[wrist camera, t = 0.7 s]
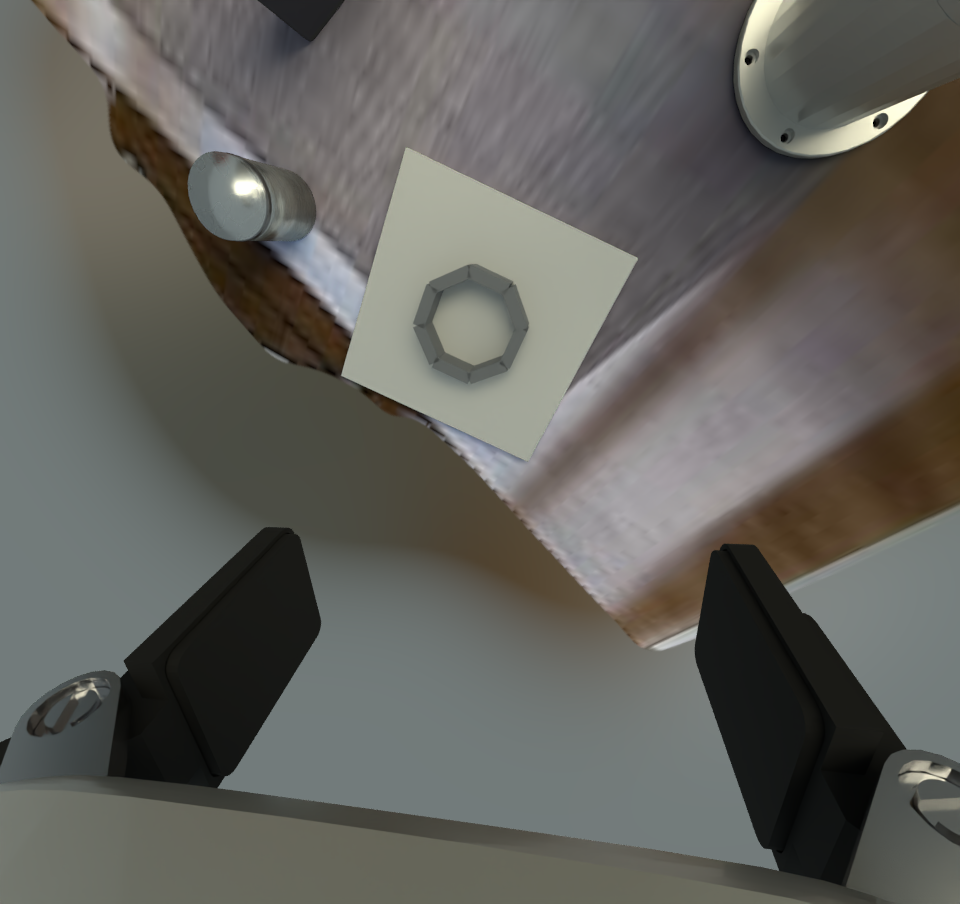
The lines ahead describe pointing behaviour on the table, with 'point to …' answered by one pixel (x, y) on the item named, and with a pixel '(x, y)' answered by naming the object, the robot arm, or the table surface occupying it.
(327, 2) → the upright black box
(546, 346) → the holder
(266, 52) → the table surface
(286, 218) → the piston
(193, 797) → the robot arm
